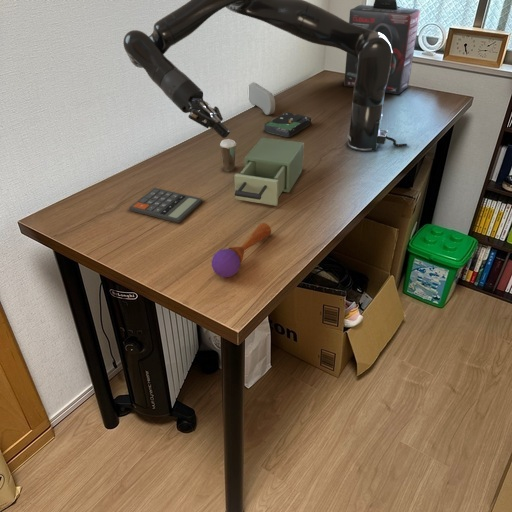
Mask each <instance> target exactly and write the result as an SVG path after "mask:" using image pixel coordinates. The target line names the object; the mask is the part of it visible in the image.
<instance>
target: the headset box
mask: <svg viewBox="0 0 512 512" xmlns="http://www.w3.org/2000/svg"><path fill="white" fill-rule="evenodd" d="M420 15H421V9H420V8H407V7H406V8H405V7H398V3H397V0H374V2H373V5H369V4H359V5H357V6H355V7H354V8H353V7H352V8H351V9H350V10H349V16H348V17H349V18H348V23H350V24H353V25H356V26H359V27H362V28H365V29H368V30H372V31H375V32H378V33H381V34H382V35H384V36H385V37H386V38H387V40H388V42H389V43H390V45H391V48H392V59H391V66H390V72H389V78H388V83H387V85H386V88H385V93H388V94H395V95H399V94H401V93H402V92H403V91H405V90H406V89H407V88H409V85H410V80H411V73H412V65H413V61H414V60H413V58H414V53H415V47H416V40H417V35H418V27H419V20H420ZM357 67H358V58H356V57H354V56H353V55H351V54H349V53H347V52H346V58H345V69H344V80H343V81H344V82H343V86H344V87H349V88H350V87H351V88H354V83H355V81H356V76H357Z"/></svg>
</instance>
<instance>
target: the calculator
mask: <svg viewBox="0 0 512 512" xmlns="http://www.w3.org/2000/svg"><path fill="white" fill-rule="evenodd" d="M202 203H203V199H202V198H201V197H200V198H199V197H196V196H192V195H187V194H184V193H179V192H174V191H170V190H166V189H161V188H157V187H155V188H152V189H151V190H150V191H149V192H147V193H146V194H144V196H141V198H140V199H138V200H137V201H136V202H134V203H133V204H132V205H131V206H129V212H133V213H138V214H142V215H145V216H150V217H153V218H157V219H162V220H166V221H170V222H173V223H176V224H177V223H181V222H182V221H183V220H184V219H185V218H186V217H187V216H189V215H190V214H191V213H192V212H193V211H194V210H195V209H196V208H197V207H198V206H199V205H200V204H202Z"/></svg>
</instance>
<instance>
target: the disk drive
mask: <svg viewBox="0 0 512 512" xmlns="http://www.w3.org/2000/svg"><path fill="white" fill-rule="evenodd" d="M311 124H312V117H311V116H307V115H303V114H299V113H297V114H293V112H289V111H285V112H284V113H282V114H280V115H278V116H277V117H275V118H273V119H271V120H270V121H269V120H268V121H267V122H265V123H264V124H263V131H264V132H266V133H269V134H273V135H277V136H280V137H284V138H290V137H292V136H295V135H296V134H297V133H299V132H301V131H302V130H303V129H306V128H307V127H308V126H310V125H311Z"/></svg>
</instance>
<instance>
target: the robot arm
mask: <svg viewBox="0 0 512 512" xmlns="http://www.w3.org/2000/svg"><path fill="white" fill-rule="evenodd" d="M224 8H225V9H227V10H228V11H230V12H232V13H236V14H239V15H242V16H246V17H249V18H252V19H254V20H255V19H256V20H258V21H261V22H264V23H266V24H267V25H270V26H272V27H274V28H276V29H278V30H282V31H284V32H286V33H288V34H289V35H292V36H295V37H296V38H299V39H301V40H304V41H306V42H308V43H311V44H316V45H320V46H324V47H325V46H326V47H331V48H336V49H339V50H341V51H343V52H345V53H346V54H347V53H349V54H351V55H353V56H354V57H356V58H358V67H357V76H356V81H355V83H354V87H353V93H352V102H351V112H350V122H349V132H348V133H347V138H348V141H347V147H348V148H350V149H352V150H354V151H358V152H370V151H371V152H372V151H373V152H376V151H377V148H378V147H379V145H380V144H381V145H385V143H386V141H387V140H389V141H391V142H392V145H393V146H394V147H396V148H401V147H407V146H408V143H397V140H396V139H395V138H393V137H391V136H388V130H383V129H381V128H382V119H383V108H384V101H385V93H386V92H385V88H386V85H387V83H388V78H389V72H390V66H391V59H392V48H391V45H390V43H389V42H388V40H387V38H386V37H385V36H384V35H382V34H381V33H378V32H375V31H372V30H368V29H365V28H362V27H359V26H356V25H353V24H350V23H349V21H346V20H344V19H343V18H341V17H339V16H338V15H336V14H335V13H332V12H330V11H329V10H326V9H324V8H322V7H320V6H318V5H316V4H313V3H311V2H309V1H307V0H189V1H187V2H186V3H185V4H183V5H181V6H180V7H179V8H177V9H175V10H174V11H172V12H170V13H169V14H167V15H165V16H163V17H162V18H160V19H159V20H157V21H156V22H155V23H154V24H153V29H152V30H153V31H152V33H151V34H150V35H147V33H145V32H144V31H141V30H137V29H133V30H132V29H131V30H129V31H128V32H127V33H126V34H125V35H124V37H123V42H122V43H123V48H124V51H125V53H126V55H127V56H128V59H129V61H130V62H131V63H132V65H133V66H134V67H137V68H140V69H144V70H145V72H146V74H147V75H148V77H149V78H150V80H151V81H152V82H153V83H154V84H155V85H156V86H157V87H158V88H159V89H160V90H161V91H162V92H163V93H164V95H165V96H166V98H168V99H169V100H170V101H171V102H172V103H174V106H176V107H177V108H178V109H179V110H180V111H181V112H182V113H184V114H188V113H189V114H188V115H187V118H189V120H192V121H194V122H195V123H197V124H198V125H200V126H202V127H203V128H205V129H209V128H210V129H212V130H214V132H216V133H217V135H219V136H220V137H221V138H222V139H227V138H228V136H229V135H230V133H231V131H230V129H228V127H226V126H225V124H223V122H222V121H223V120H224V118H223V116H222V114H221V111H220V109H219V107H218V106H215V105H214V107H212V106H211V105H210V103H209V102H208V101H205V100H204V92H203V90H202V89H201V88H200V87H199V86H198V85H197V84H196V83H195V82H194V81H193V80H192V79H191V78H189V76H188V75H187V74H185V72H183V71H181V70H180V69H179V68H178V67H177V66H176V65H175V64H174V63H173V62H172V61H170V60H169V59H168V58H167V57H166V55H165V54H166V53H167V52H168V50H169V49H170V48H171V47H172V46H174V45H176V44H178V43H179V42H181V41H183V40H185V39H186V38H187V37H189V36H190V35H192V34H193V33H194V32H195V31H197V30H198V29H199V28H200V27H201V26H202V25H203V24H205V22H206V21H208V19H210V18H211V17H212V16H213V15H215V14H216V13H218V12H219V11H222V9H223V10H224Z"/></svg>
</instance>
